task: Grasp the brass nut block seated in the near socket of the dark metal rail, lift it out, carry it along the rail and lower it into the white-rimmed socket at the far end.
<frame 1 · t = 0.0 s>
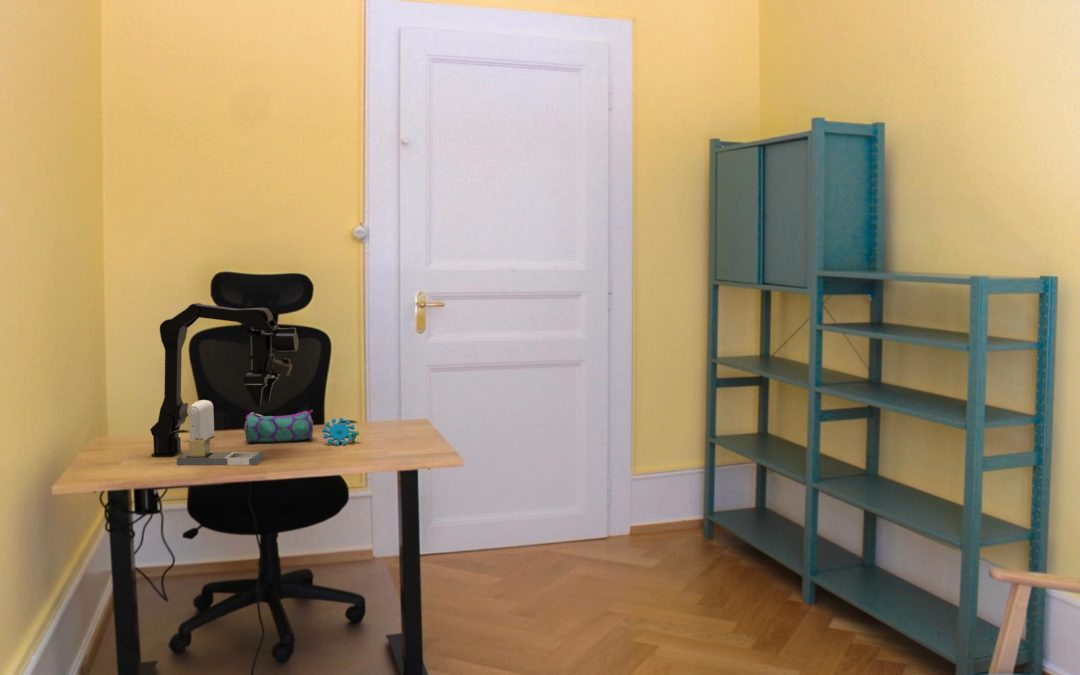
hand: (262, 404, 279), 15 cm above the table, fingers open, 9 cm apart
pencil case: (279, 442, 300), on the table
rail: (221, 461, 270), on the table
photo printer: (202, 440, 302), on the table
nut: (199, 461, 270), resting in rail
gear: (341, 444, 296), on the table
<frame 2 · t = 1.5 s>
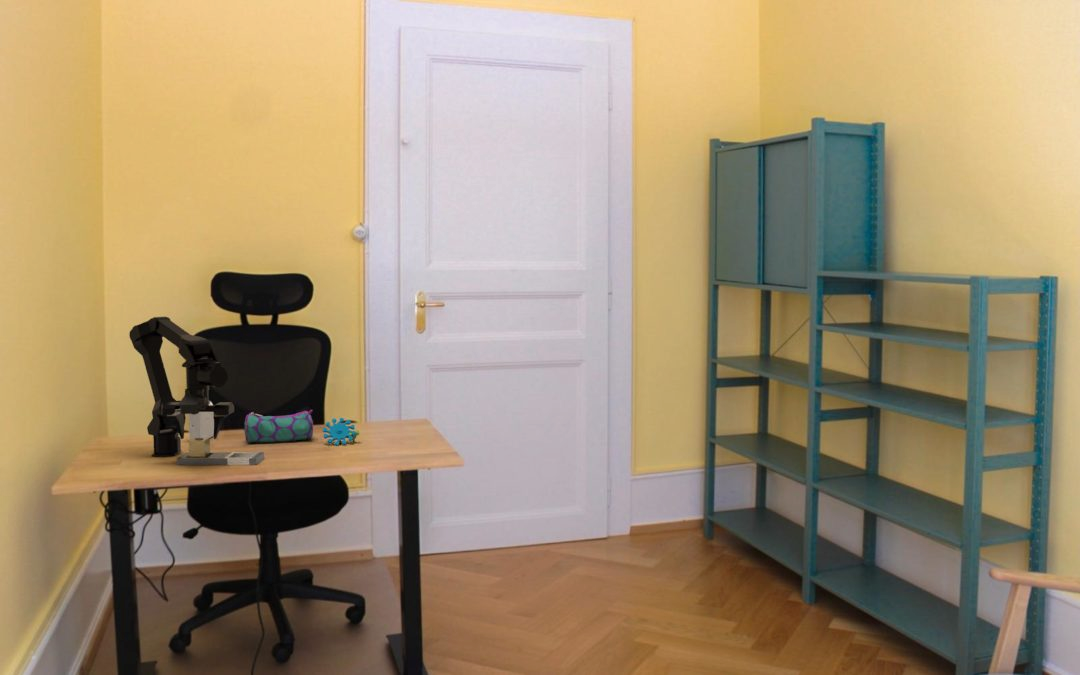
hand: (198, 438, 270), 7 cm above the table, fingers open, 9 cm apart
nothing on the table moved.
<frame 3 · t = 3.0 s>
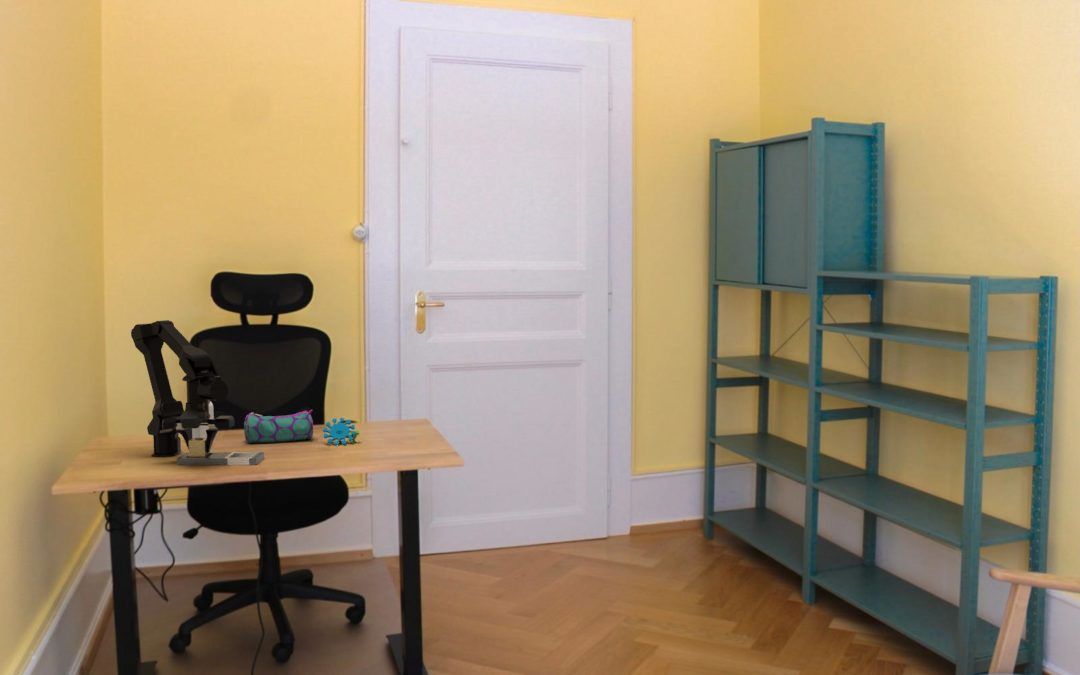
hand: (199, 452, 270), 3 cm above the table, fingers closed on nut, 4 cm apart
nut: (199, 461, 270), resting in rail, touching gripper
everything else where it was.
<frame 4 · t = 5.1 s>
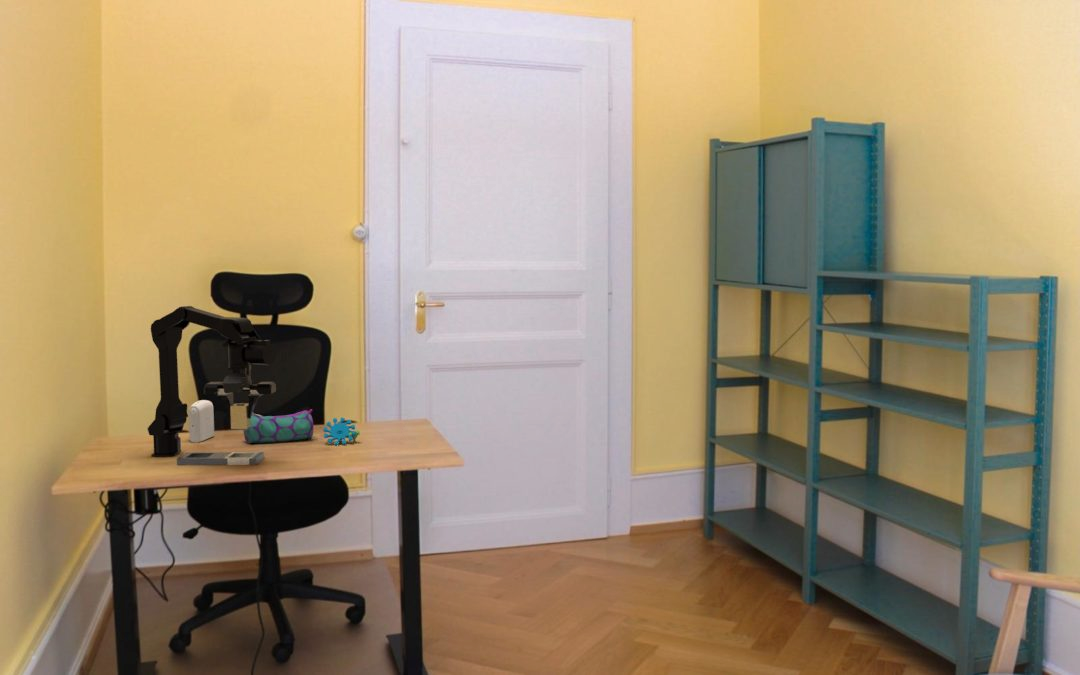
hand: (241, 418, 269), 12 cm above the table, fingers closed on nut, 4 cm apart
nut: (241, 427, 270), point 10 cm above the table, touching gripper
everything else where it was.
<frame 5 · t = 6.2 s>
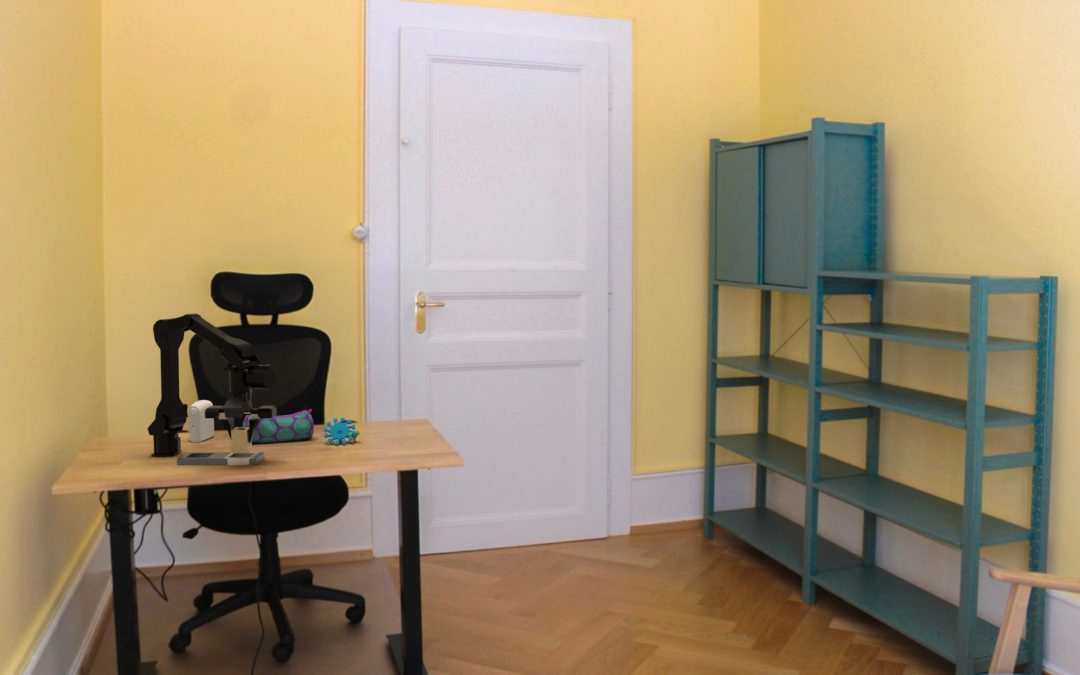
hand: (241, 442, 270), 6 cm above the table, fingers closed on nut, 4 cm apart
nut: (241, 451, 270), point 3 cm above the table, touching gripper
everything else where it was.
when the fingers open (4 cm above the table, at t = 7.3 s): nut drops 2 cm, resting in rail.
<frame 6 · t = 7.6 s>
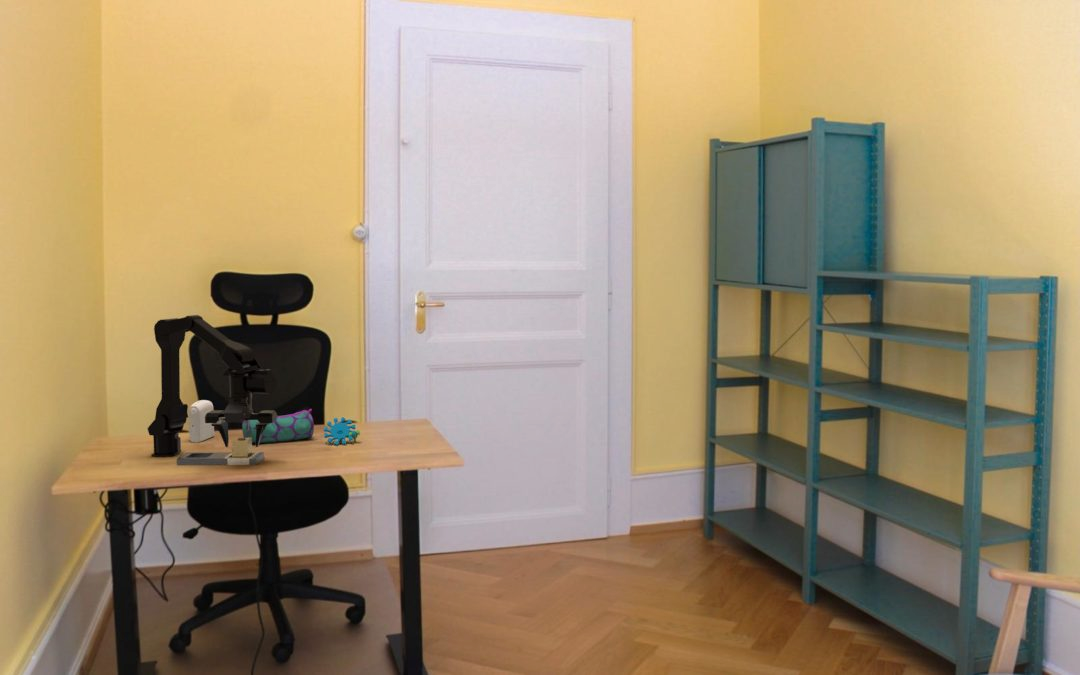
hand: (242, 446, 270), 4 cm above the table, fingers open, 8 cm apart
nut: (242, 461, 271), resting in rail
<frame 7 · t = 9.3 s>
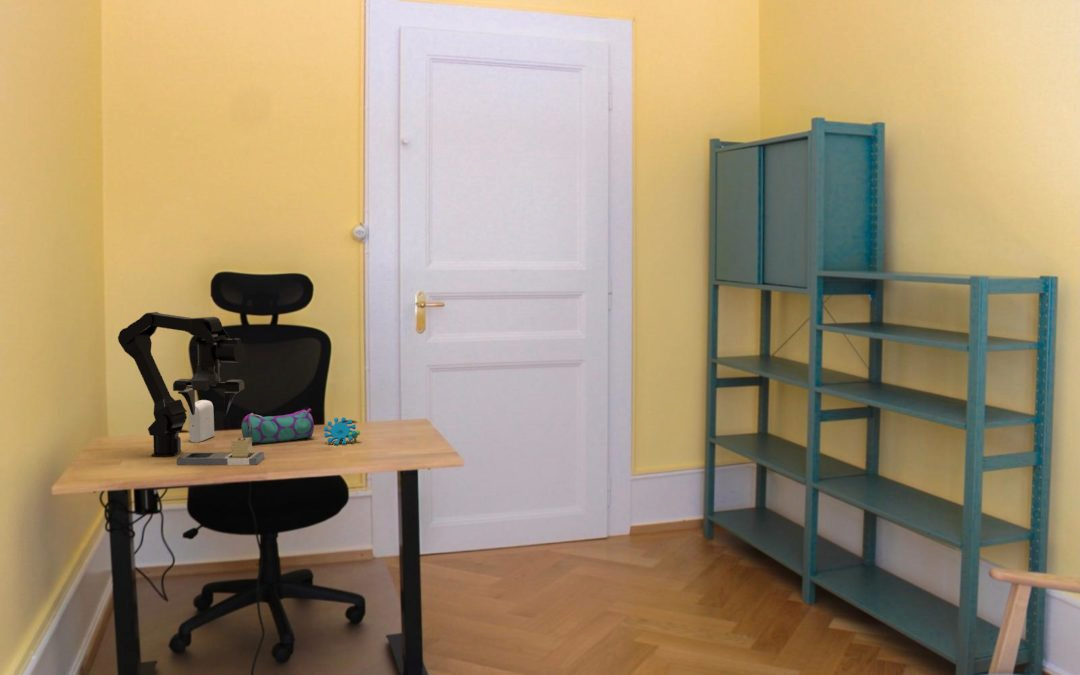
hand: (209, 415, 275), 12 cm above the table, fingers open, 9 cm apart
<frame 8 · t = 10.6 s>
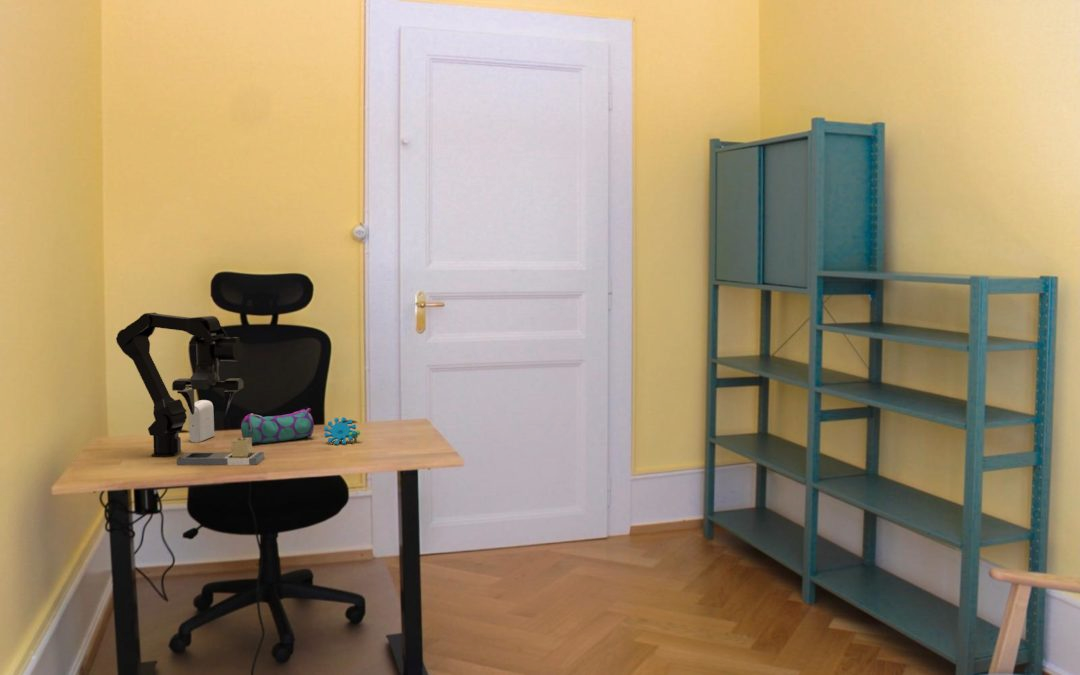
hand: (209, 414, 275), 13 cm above the table, fingers open, 9 cm apart
at the end: nut 0.1 cm from the target spot on the rail, point 0.0 cm above the rail's base; nut tilted 0°; the gripper is holding nothing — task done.
